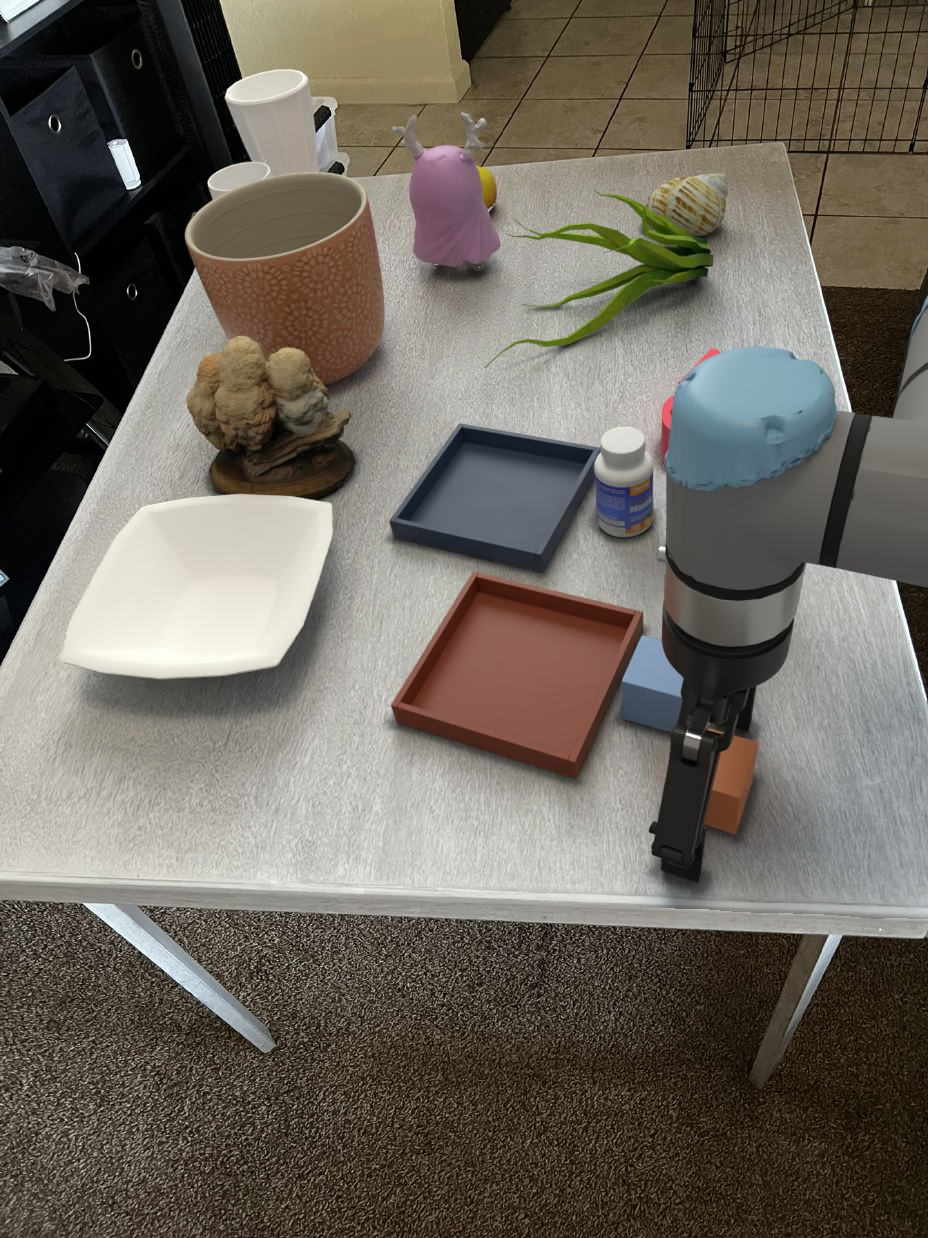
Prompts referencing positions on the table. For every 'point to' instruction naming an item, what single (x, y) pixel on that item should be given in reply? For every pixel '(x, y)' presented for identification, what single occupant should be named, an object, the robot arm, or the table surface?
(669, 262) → the decorative plant
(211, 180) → the cup
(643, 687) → the blue block
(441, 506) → the slate tray
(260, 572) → the bowl
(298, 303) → the planter
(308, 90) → the cup
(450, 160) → the toy character
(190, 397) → the owl figurine
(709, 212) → the seashell
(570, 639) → the clay tray
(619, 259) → the table surface
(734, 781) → the terracotta block
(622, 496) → the pill bottle
